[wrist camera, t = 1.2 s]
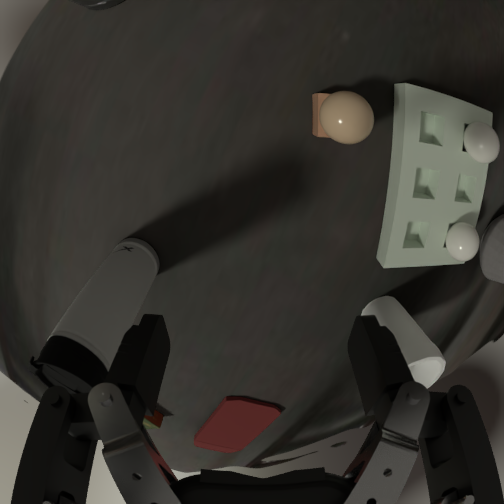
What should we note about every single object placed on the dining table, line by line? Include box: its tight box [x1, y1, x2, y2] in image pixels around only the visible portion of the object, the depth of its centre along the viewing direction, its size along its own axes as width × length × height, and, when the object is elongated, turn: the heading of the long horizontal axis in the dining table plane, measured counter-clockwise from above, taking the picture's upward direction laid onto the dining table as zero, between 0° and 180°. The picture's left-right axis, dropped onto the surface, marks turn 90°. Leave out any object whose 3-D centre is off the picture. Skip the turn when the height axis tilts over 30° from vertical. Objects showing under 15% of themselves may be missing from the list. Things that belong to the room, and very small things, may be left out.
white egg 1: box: [446, 222, 479, 261], centre depth 26 cm, size 5×5×5 cm
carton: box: [143, 410, 163, 429], centre depth 52 cm, size 8×16×4 cm, turn 117°
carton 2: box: [194, 396, 281, 453], centre depth 53 cm, size 12×5×25 cm
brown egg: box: [319, 91, 374, 144], centre depth 21 cm, size 5×5×5 cm
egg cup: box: [312, 93, 331, 137], centre depth 23 cm, size 4×4×2 cm
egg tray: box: [376, 83, 493, 268], centre depth 26 cm, size 21×14×2 cm, turn 2°
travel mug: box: [28, 238, 160, 394], centre depth 24 cm, size 6×7×20 cm
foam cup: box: [361, 296, 446, 388], centre depth 31 cm, size 10×9×13 cm
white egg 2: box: [463, 122, 500, 164], centre depth 20 cm, size 5×5×5 cm
